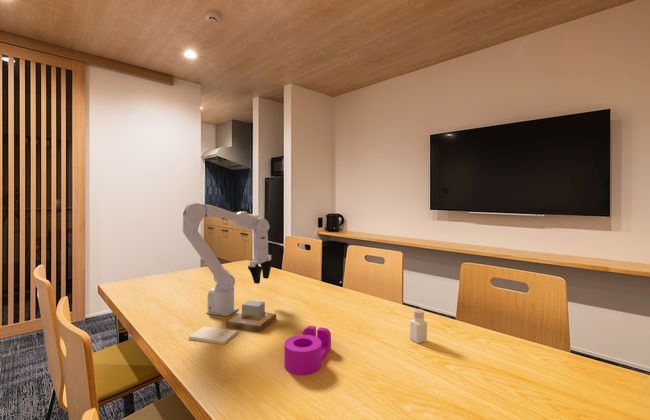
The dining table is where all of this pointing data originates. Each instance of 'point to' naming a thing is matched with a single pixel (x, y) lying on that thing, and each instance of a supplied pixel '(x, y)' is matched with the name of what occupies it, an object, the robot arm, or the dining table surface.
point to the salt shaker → (418, 327)
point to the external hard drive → (213, 335)
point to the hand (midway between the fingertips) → (261, 280)
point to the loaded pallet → (253, 310)
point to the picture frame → (251, 322)
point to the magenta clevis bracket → (306, 351)
